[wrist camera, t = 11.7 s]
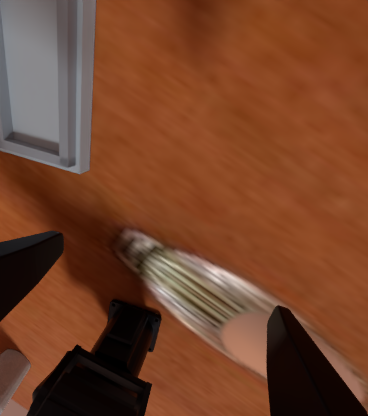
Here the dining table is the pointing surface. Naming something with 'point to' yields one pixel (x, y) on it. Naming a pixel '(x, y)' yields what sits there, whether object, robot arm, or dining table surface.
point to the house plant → (11, 374)
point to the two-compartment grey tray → (47, 80)
